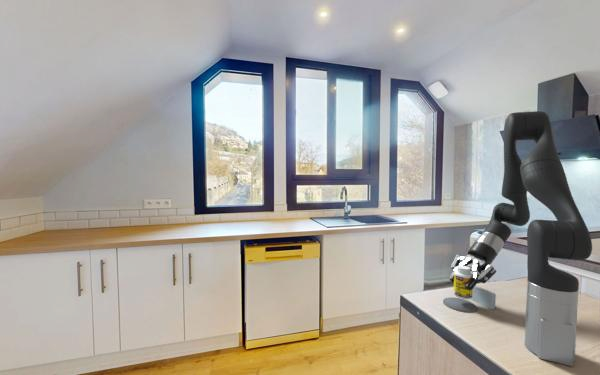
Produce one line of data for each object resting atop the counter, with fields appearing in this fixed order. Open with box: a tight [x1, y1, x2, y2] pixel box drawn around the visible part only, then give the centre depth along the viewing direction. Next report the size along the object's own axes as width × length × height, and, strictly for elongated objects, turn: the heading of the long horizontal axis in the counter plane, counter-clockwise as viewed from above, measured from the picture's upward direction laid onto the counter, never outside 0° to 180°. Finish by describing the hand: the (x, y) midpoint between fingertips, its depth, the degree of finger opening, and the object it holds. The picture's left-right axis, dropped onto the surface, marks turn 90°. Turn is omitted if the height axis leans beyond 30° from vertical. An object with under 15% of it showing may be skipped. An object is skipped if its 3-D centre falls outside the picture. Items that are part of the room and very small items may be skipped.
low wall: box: [470, 284, 497, 310], centre depth 93 cm, size 10×2×5 cm, turn 15°
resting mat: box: [442, 297, 478, 313], centre depth 91 cm, size 10×10×1 cm
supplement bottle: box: [453, 265, 473, 300], centre depth 91 cm, size 6×6×10 cm
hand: (459, 284), depth 90 cm, fingers closed on supplement bottle, 5 cm apart
